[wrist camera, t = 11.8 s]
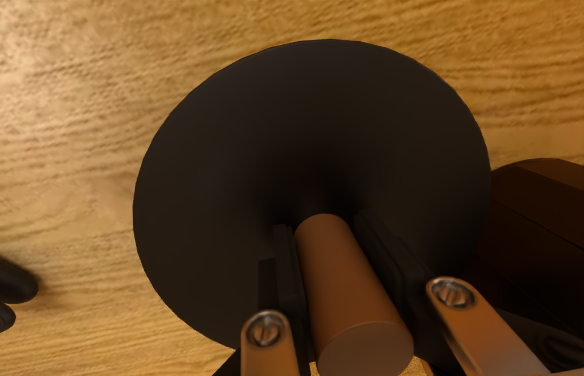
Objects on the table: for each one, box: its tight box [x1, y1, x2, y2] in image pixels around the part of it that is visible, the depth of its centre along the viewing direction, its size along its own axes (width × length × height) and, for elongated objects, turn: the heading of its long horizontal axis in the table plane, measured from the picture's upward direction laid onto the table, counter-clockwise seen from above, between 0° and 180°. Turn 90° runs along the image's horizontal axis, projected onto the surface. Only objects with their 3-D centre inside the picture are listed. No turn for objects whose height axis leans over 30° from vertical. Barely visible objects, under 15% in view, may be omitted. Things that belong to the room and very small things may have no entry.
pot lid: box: [133, 39, 491, 376], centre depth 10 cm, size 16×16×7 cm
